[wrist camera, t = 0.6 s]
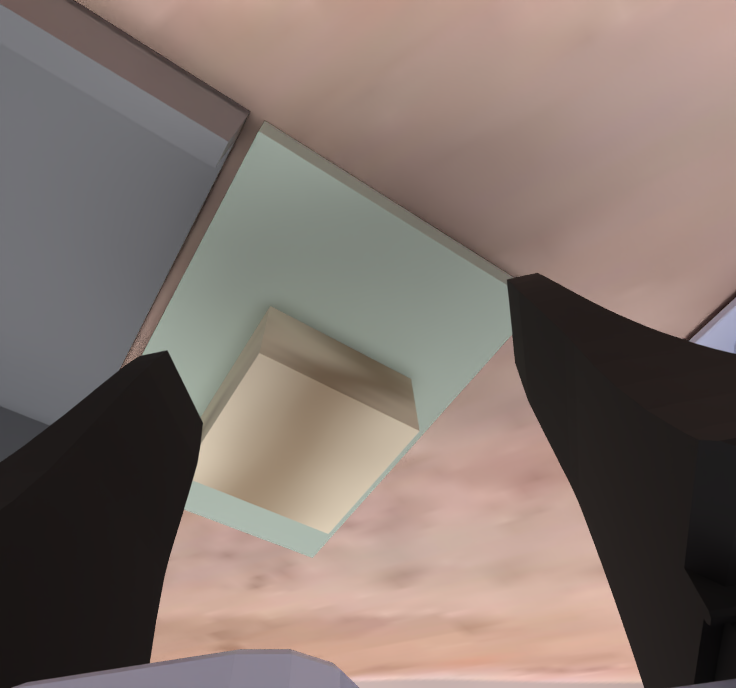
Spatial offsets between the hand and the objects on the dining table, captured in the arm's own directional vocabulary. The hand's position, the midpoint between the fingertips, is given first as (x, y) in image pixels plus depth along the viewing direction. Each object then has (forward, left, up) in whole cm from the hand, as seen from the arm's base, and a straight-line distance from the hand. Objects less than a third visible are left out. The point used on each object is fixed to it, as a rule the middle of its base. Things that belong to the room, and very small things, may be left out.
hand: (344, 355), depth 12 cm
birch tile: (-2, +7, -8) cm, 11 cm away
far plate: (-2, +7, -9) cm, 12 cm away
